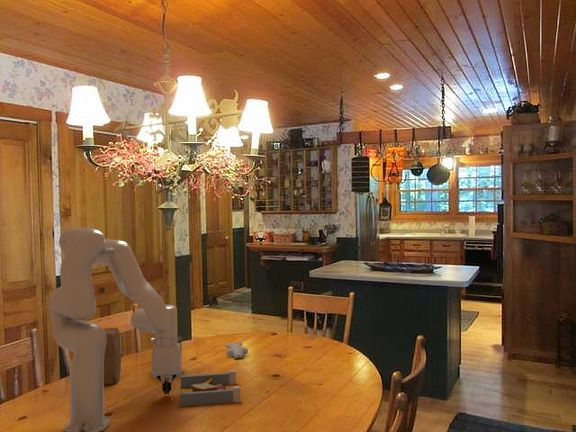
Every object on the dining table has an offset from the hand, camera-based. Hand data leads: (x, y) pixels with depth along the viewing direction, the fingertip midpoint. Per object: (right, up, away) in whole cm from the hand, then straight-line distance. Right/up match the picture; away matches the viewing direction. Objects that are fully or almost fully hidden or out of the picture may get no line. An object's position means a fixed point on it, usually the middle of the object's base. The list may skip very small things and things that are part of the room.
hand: (166, 392), depth 174 cm
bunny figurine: (+19, -1, +50) cm, 53 cm away
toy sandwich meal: (+15, -2, +2) cm, 15 cm away
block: (-26, -2, +16) cm, 31 cm away
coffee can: (-5, -1, +24) cm, 25 cm away
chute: (+14, -1, +3) cm, 15 cm away
